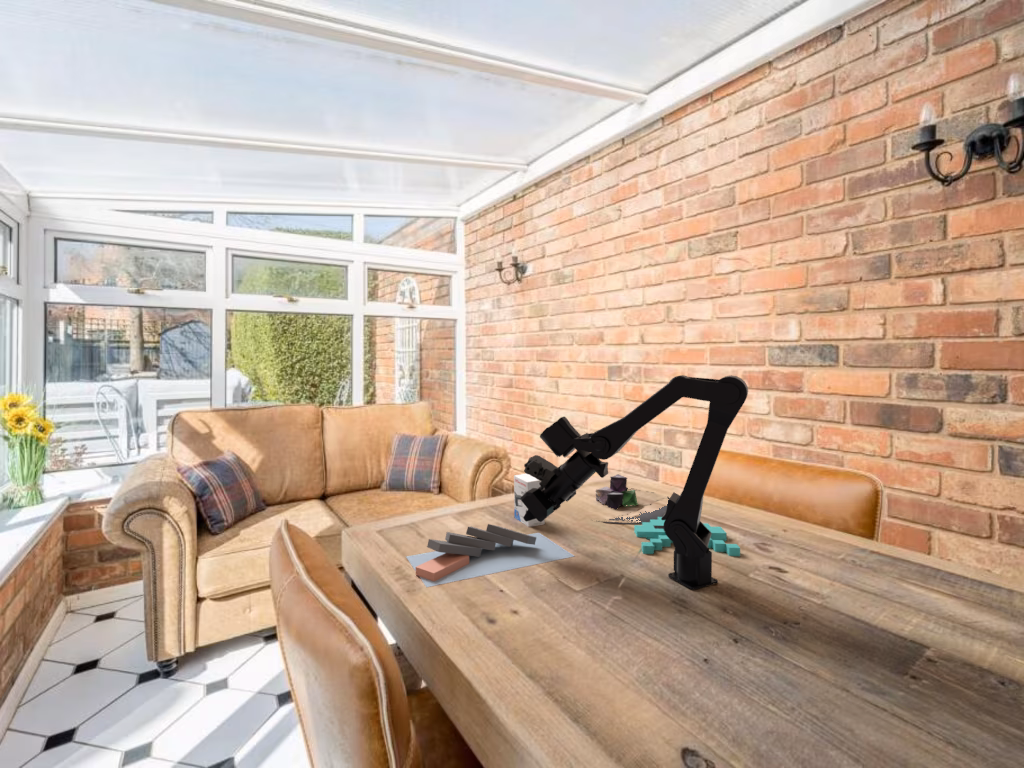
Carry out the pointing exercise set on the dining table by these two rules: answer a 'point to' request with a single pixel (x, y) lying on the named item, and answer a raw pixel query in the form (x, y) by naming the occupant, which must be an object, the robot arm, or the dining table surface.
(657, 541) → the alien figure
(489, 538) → the domino
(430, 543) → the domino
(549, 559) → the mat
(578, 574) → the dining table surface
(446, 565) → the domino
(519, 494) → the ink box
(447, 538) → the domino
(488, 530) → the domino
